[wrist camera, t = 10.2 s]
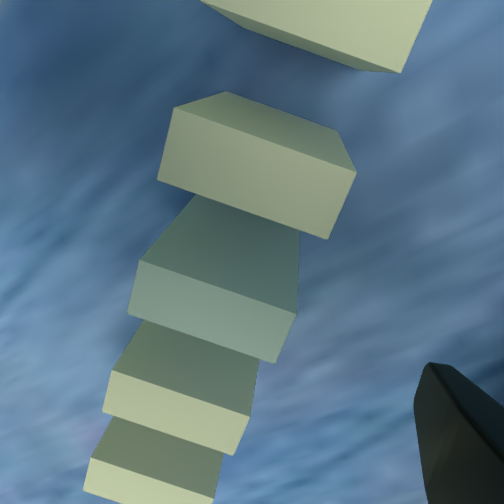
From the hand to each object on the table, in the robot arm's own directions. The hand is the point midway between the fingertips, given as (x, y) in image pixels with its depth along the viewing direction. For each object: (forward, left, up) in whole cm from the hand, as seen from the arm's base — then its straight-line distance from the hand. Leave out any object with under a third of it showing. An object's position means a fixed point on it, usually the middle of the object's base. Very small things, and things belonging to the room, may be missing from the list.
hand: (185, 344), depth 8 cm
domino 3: (-2, +1, -13) cm, 13 cm away
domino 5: (-10, +5, -13) cm, 17 cm away
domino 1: (+6, -4, -13) cm, 14 cm away
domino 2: (+2, -1, -13) cm, 13 cm away
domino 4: (-6, +3, -13) cm, 14 cm away
